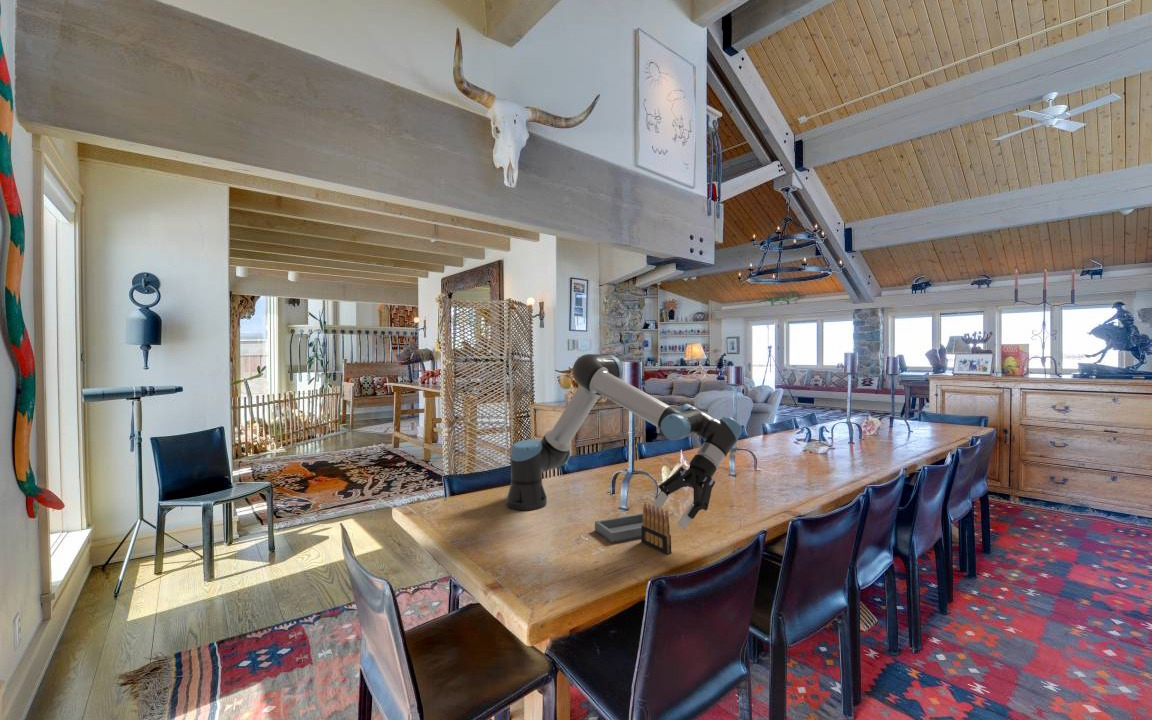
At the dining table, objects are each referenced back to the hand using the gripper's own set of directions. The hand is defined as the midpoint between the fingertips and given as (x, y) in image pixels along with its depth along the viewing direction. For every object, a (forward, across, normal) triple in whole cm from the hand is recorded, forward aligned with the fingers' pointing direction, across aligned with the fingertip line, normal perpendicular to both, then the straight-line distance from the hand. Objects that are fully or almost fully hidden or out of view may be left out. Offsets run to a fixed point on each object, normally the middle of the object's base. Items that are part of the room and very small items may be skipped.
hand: (666, 518), depth 133 cm
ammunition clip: (+8, +1, -4) cm, 9 cm away
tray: (+8, +14, -4) cm, 17 cm away
